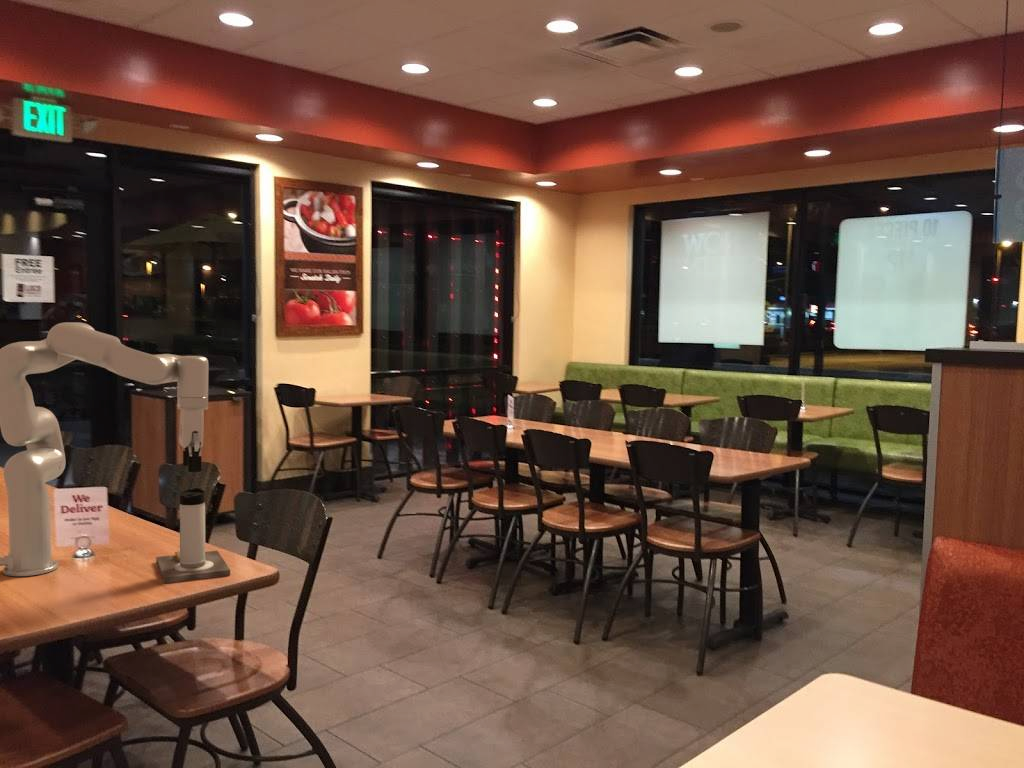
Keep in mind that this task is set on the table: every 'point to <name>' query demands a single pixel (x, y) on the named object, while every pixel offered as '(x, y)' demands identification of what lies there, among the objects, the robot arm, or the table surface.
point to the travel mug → (192, 528)
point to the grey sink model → (176, 573)
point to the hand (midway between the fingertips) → (192, 468)
